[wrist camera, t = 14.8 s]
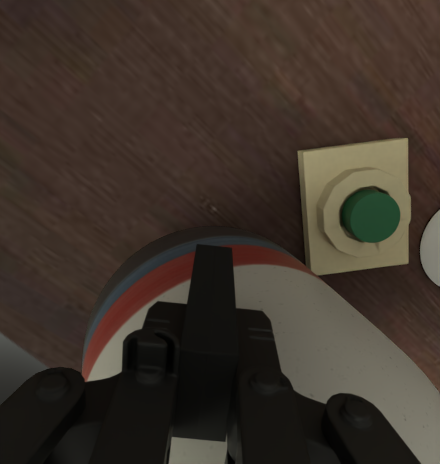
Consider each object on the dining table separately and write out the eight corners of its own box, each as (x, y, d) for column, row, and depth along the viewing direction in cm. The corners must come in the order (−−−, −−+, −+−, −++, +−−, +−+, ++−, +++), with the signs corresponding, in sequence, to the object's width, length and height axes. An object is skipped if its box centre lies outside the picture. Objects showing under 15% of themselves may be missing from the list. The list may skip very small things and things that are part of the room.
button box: (398, 257, 33) (421, 271, 29) (305, 269, 33) (317, 285, 29) (397, 137, 30) (421, 137, 27) (297, 150, 30) (308, 152, 27)
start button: (389, 233, 29) (400, 239, 27) (342, 239, 29) (350, 246, 27) (388, 186, 28) (400, 189, 26) (340, 192, 28) (348, 196, 26)
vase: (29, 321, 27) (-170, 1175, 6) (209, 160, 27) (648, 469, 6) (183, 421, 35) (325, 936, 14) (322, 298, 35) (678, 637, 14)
